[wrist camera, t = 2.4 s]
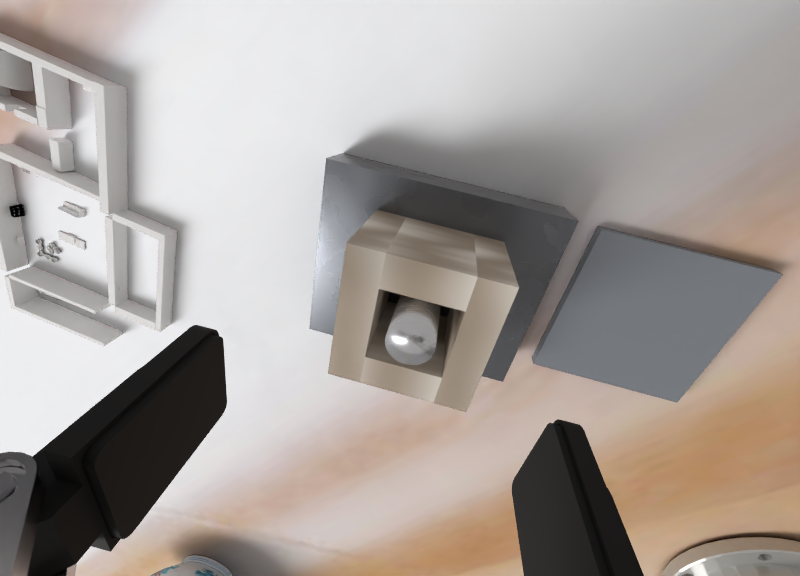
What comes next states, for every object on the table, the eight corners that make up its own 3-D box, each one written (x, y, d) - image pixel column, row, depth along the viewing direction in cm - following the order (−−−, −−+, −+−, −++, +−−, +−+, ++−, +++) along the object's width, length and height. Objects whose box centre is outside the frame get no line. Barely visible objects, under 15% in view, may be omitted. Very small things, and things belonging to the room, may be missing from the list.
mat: (773, 269, 18) (782, 274, 17) (671, 395, 22) (677, 402, 21) (597, 226, 18) (601, 229, 17) (531, 357, 22) (533, 363, 22)
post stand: (564, 207, 18) (631, 269, 11) (498, 355, 22) (515, 467, 15) (342, 153, 18) (266, 177, 11) (324, 308, 23) (261, 394, 16)
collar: (504, 242, 17) (519, 287, 12) (465, 345, 20) (466, 412, 15) (376, 209, 17) (346, 242, 12) (358, 316, 20) (328, 373, 16)
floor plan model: (242, 380, 28) (227, 397, 26) (-50, 257, 27) (-85, 267, 26) (291, 155, 19) (274, 159, 18) (-137, -35, 19) (-200, -51, 17)
